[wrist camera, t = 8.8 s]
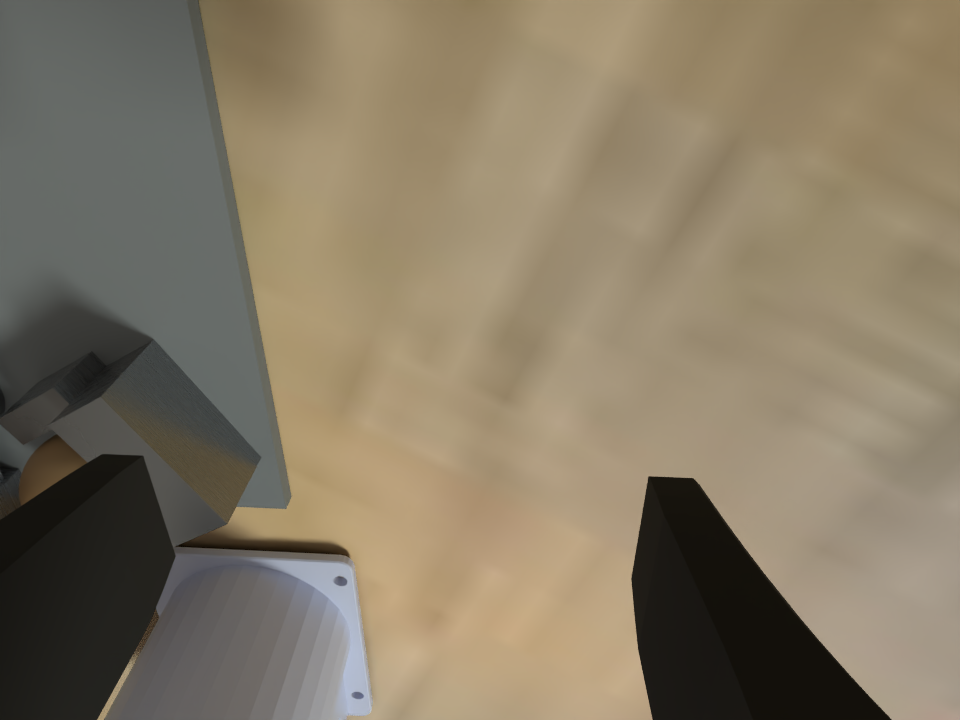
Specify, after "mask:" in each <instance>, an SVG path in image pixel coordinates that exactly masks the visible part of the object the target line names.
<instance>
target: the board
mask: <svg viewBox="0 0 960 720" xmlns="http://www.w3.org/2000/svg"><path fill="white" fill-rule="evenodd" d="M152 340H155V341H156V342H157V343H158V344H159V345H160V346H161V347H162V348H163V350H164V351H165V352H166V353H167V354H168V355H169V356H170V357H171V358H172V359H173V361H174V362H175V363H176V364H177V365H178V366H179V367H180V368H181V369H182V370H183V372H184V373H185V374H186V375H187V376H188V377H189V378H190V379H191V380H192V381H193V382H194V384H195V385H196V386H197V387H198V388H199V389H200V390H201V391H202V392H203V393H204V395H205V396H206V397H207V398H208V399H209V400H210V401H211V402H212V403H213V404H214V406H215V407H216V408H217V409H218V410H219V411H220V412H221V413H222V414H223V415H224V417H225V418H226V419H227V420H228V421H229V422H230V423H231V424H232V425H233V426H234V428H235V429H236V430H237V431H238V432H239V433H240V434H241V435H242V436H243V437H244V439H245V440H246V441H247V442H248V443H249V444H250V445H251V446H252V447H253V448H254V450H255V451H256V452H257V453H258V454H259V455H260V456H261V459H260V461H259V463H258V465H257V467H256V469H255V471H254V473H253V475H252V477H251V479H250V481H249V483H248V485H247V487H246V489H245V491H244V492H243V494H242V496H241V498H240V500H239V502H238V504H237V506H236V507H257V508H279V509H286V508H287V506H288V503H289V501H290V499H291V492H290V487H289V482H288V476H287V471H286V466H285V460H284V455H283V450H282V444H281V439H280V434H279V429H278V423H277V418H276V413H275V407H274V402H273V397H272V391H271V386H270V381H269V375H268V370H267V365H266V359H265V354H264V349H263V344H262V338H261V333H260V328H259V322H258V317H257V312H256V306H255V301H254V296H253V290H252V285H251V280H250V274H249V269H248V264H247V258H246V253H245V248H244V243H243V237H242V232H241V227H240V221H239V216H238V211H237V205H236V200H235V195H234V189H233V184H232V179H231V173H230V168H229V163H228V157H227V152H226V147H225V142H224V136H223V131H222V126H221V120H220V115H219V110H218V104H217V99H216V94H215V88H214V83H213V78H212V72H211V67H210V62H209V56H208V51H207V46H206V41H205V35H204V30H203V25H202V19H201V14H200V9H199V3H198V0H0V388H1V390H2V392H3V395H4V398H5V412H6V411H7V410H8V409H9V408H10V407H11V406H12V405H14V404H15V403H16V402H17V401H18V400H19V399H20V398H21V397H22V396H23V395H25V394H26V393H27V392H28V391H29V390H30V389H31V388H32V387H33V386H34V385H36V384H37V383H38V382H39V381H41V380H43V379H44V378H46V377H48V376H50V375H51V374H53V373H55V372H57V371H58V370H60V369H62V368H63V367H65V366H67V365H69V364H70V363H72V362H74V361H76V360H77V359H79V358H81V357H82V356H84V355H86V354H88V353H89V352H91V351H92V352H93V353H94V354H95V355H96V356H97V357H98V358H99V359H100V360H101V361H102V362H103V363H104V364H105V365H106V366H107V365H109V364H111V363H113V362H115V361H116V360H118V359H120V358H122V357H123V356H125V355H127V354H129V353H131V352H132V351H134V350H136V349H138V348H139V347H141V346H143V345H145V344H147V343H148V342H150V341H152ZM5 412H4V413H5ZM54 435H56V433H55V432H54V431H53V430H50V431H48V432H47V433H45V434H43V435H41V436H39V437H37V438H35V439H34V440H32V441H30V442H28V443H26V444H24V445H23V444H21V443H20V442H19V441H18V440H17V439H16V438H15V437H14V436H13V435H11V434H10V433H9V432H8V431H7V430H6V429H5V428H4V427H3V426H1V425H0V468H17V469H20V471H21V474H22V471H23V469H24V466H25V464H26V463H27V461H28V459H29V458H30V456H31V455H32V454H33V453H34V451H35V450H36V449H37V448H38V447H39V446H40V445H42V444H43V443H44V442H45V441H47V440H48V439H50V438H51V437H53V436H54Z"/></svg>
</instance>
